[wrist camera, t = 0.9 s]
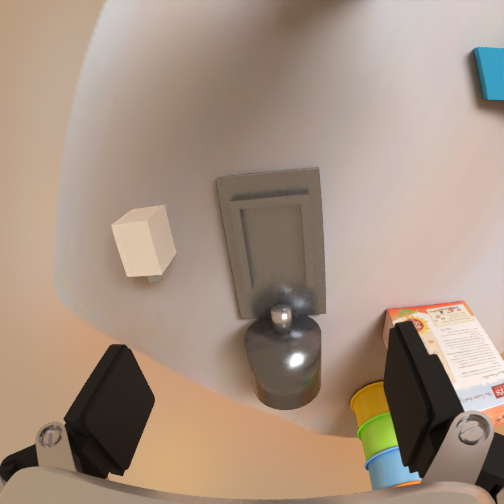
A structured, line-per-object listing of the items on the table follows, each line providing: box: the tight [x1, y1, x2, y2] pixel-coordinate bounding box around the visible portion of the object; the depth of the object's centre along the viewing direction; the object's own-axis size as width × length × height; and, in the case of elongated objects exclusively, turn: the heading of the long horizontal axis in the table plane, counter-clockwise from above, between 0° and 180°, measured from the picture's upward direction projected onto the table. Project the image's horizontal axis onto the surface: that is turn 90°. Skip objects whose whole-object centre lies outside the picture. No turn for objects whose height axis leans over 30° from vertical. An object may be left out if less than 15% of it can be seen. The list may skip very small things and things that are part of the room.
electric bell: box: [216, 167, 326, 410], centre depth 39 cm, size 30×12×10 cm, turn 8°
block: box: [111, 205, 176, 284], centre depth 40 cm, size 9×5×6 cm, turn 8°
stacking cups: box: [350, 381, 422, 491], centre depth 37 cm, size 10×10×35 cm
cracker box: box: [382, 301, 504, 427], centre depth 34 cm, size 14×6×21 cm, turn 95°
